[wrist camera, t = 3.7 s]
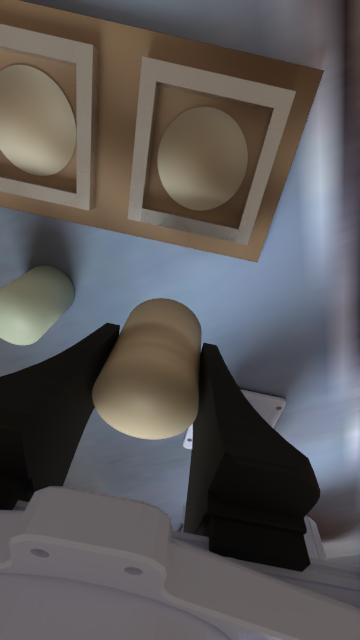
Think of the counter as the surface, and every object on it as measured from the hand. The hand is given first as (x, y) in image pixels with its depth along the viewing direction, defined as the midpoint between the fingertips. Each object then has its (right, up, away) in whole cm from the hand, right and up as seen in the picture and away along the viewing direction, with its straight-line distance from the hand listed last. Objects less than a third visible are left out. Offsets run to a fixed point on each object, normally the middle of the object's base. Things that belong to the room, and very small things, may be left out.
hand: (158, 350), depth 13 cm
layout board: (-3, +12, +4) cm, 13 cm away
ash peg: (0, +1, +1) cm, 2 cm away
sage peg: (-9, +4, +9) cm, 14 cm away
